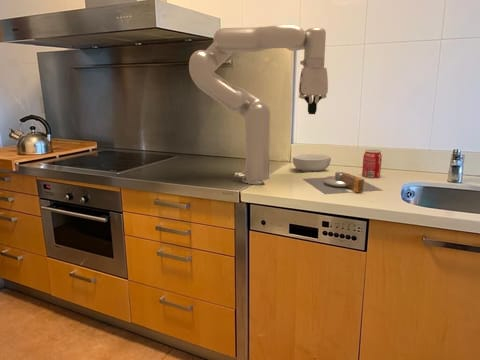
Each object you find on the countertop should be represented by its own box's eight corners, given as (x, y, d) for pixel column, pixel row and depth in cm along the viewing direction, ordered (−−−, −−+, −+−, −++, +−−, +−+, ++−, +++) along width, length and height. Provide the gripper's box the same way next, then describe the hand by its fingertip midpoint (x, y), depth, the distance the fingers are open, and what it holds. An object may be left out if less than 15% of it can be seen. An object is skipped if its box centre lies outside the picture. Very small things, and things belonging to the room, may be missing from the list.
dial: (318, 180, 139) (318, 169, 137) (345, 177, 142) (345, 167, 141) (345, 193, 121) (345, 181, 120) (375, 189, 125) (376, 178, 124)
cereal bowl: (316, 166, 173) (317, 151, 171) (337, 173, 158) (338, 157, 156) (285, 169, 167) (286, 154, 166) (304, 177, 152) (305, 160, 151)
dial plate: (324, 198, 123) (324, 193, 122) (302, 182, 144) (302, 178, 143) (382, 194, 127) (383, 189, 126) (352, 179, 148) (352, 175, 147)
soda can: (375, 177, 151) (378, 149, 148) (382, 181, 144) (385, 152, 141) (359, 177, 150) (361, 149, 147) (365, 182, 143) (367, 152, 140)
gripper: (298, 63, 128) (296, 115, 133) (337, 63, 131) (334, 114, 135) (291, 64, 135) (290, 113, 140) (328, 64, 138) (326, 113, 142)
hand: (311, 113), depth 137 cm, fingers closed
